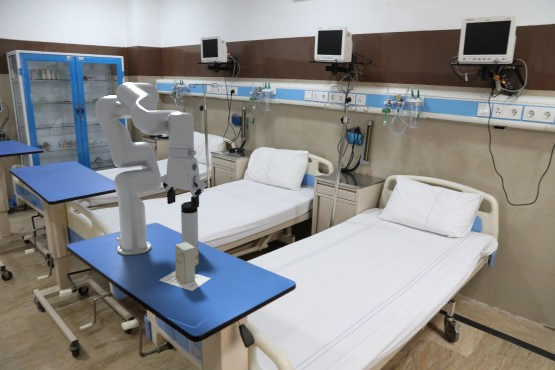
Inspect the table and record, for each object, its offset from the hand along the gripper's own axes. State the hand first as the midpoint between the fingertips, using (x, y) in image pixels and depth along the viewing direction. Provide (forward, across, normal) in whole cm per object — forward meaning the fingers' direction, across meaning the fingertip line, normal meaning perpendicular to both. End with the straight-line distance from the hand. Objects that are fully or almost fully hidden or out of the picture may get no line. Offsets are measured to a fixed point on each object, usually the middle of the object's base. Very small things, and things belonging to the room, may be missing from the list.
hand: (183, 205), depth 127 cm
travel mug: (+26, +14, -20) cm, 36 cm away
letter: (+26, 0, 0) cm, 26 cm away
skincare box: (+26, 0, 0) cm, 26 cm away
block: (+26, +6, -9) cm, 29 cm away
